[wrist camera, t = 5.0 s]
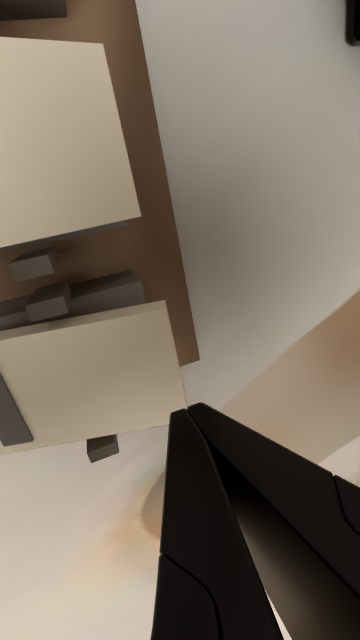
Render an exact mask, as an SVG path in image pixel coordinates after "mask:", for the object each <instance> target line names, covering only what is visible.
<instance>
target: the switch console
mask: <svg viewBox="0 0 360 640" xmlns="http://www.w3.org/2000/svg"><path fill="white" fill-rule="evenodd" d="M0 37H11V38H26V39H41V40H56V41H70V42H85V43H100V44H103V47H104V51H105V56H106V60H107V65H108V69H109V74H110V78H111V83H112V87H113V92H114V96H115V101H116V105H117V110H118V114H119V119H120V123H121V127H122V132H123V136H124V141H125V145H126V150H127V154H128V159H129V163H130V168H131V172H132V177H133V181H134V186H135V190H136V195H137V199H138V204H139V208H140V213H141V217H136V218H132V219H127V220H123V221H118V222H114V223H109V224H105V225H100V226H96V227H91V228H87V229H82V230H78V231H73V232H69V233H64V234H60V235H55V236H51V237H46V238H42V239H37V240H33V241H28V242H24V243H19V244H15V245H10V246H6V247H1V248H0V331H4V330H9V329H14V328H19V327H25V326H30V325H35V324H40V323H46V322H51V321H56V320H61V319H67V318H72V317H77V316H83V315H88V314H93V313H98V312H104V311H109V310H114V309H119V308H125V307H130V306H135V305H141V304H146V303H151V302H156V301H162V300H165V301H166V306H167V311H168V315H169V320H170V325H171V329H172V334H173V339H174V343H175V348H176V353H177V357H178V362H179V366H183V365H186V364H189V363H192V362H195V361H198V360H200V358H199V352H198V347H197V341H196V336H195V330H194V325H193V319H192V313H191V308H190V302H189V297H188V291H187V286H186V280H185V275H184V269H183V264H182V258H181V253H180V247H179V242H178V236H177V230H176V225H175V219H174V214H173V208H172V203H171V197H170V192H169V186H168V181H167V175H166V170H165V164H164V159H163V153H162V147H161V142H160V136H159V131H158V125H157V120H156V114H155V109H154V103H153V98H152V92H151V87H150V81H149V76H148V70H147V64H146V59H145V53H144V48H143V42H142V37H141V31H140V26H139V20H138V15H137V9H136V4H135V0H0ZM117 453H119V448H118V441H117V435H116V434H113V435H108V436H102V437H96V438H91V439H87V454H88V457H89V459H90V461H91V463H93V462H96V461H98V460H101V459H104V458H106V457H109V456H111V455H114V454H117Z"/></svg>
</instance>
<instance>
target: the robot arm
mask: <svg viewBox="0 0 360 640" xmlns="http://www.w3.org/2000/svg"><path fill="white" fill-rule="evenodd" d="M357 29H358V31H359V34H358V31H357ZM347 34H348V40H349V42H350V43H351V44H353V45H359V44H360V0H349V5H348V33H347ZM163 501H164V502H163V513H162V527H161V540H160V556H159V563H158V576H157V587H156V597H155V607H154V616H153V626H152V633H151V639H150V640H284V638H283V636H282V633H281V631H280V628H279V626H278V623H277V620H276V618H275V615H274V613H273V610H272V608H271V605H270V602H269V600H268V597H267V595H266V592H267V594H268V596H269V598H270V600H271V601H272V603H273V605H274V607H275V609H276V611H277V612H278V614H279V616H280V618H281V620H282V622H283V624H284V625H285V627H286V629H287V631H288V633H289V635H290V637H291V638H292V640H360V487H358V486H356V485H354V484H352V483H350V482H348V481H346V480H345V479H343V478H341V477H339V476H337V475H334V476H333V474H332V473H331V472H330V471H328V470H326V469H324V468H322V467H320V466H318V465H317V464H315V463H313V462H311V461H309V460H307V459H305V458H304V457H302V456H300V455H298V454H296V453H295V452H293V451H291V450H289V449H287V448H285V447H283V446H282V445H280V444H278V443H276V442H274V441H272V440H271V439H269V438H267V437H265V436H263V435H261V434H259V433H258V432H256V431H254V430H252V429H250V428H248V427H247V426H244V425H243V424H241V423H239V422H237V421H236V420H233V419H232V418H230V417H228V416H226V415H224V414H223V413H221V412H219V411H217V410H215V409H213V408H212V407H210V406H208V405H206V404H204V403H201V402H200V403H197V404H194V405H191V406H188V407H187V409H185V408H182V409H179V410H176V411H174V412H171V413H170V419H169V432H168V446H167V459H166V473H165V486H164V500H163ZM264 588H265V590H266V592H265V590H264Z"/></svg>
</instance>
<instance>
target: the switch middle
mask: <svg viewBox="0 0 360 640" xmlns="http://www.w3.org/2000/svg"><path fill="white" fill-rule="evenodd" d="M136 217H141V213H140V208H139V204H138V199H137V195H136V190H135V186H134V181H133V177H132V172H131V168H130V163H129V159H128V154H127V150H126V145H125V141H124V136H123V132H122V127H121V123H120V119H119V114H118V110H117V105H116V101H115V96H114V92H113V87H112V83H111V78H110V74H109V69H108V65H107V60H106V56H105V51H104V47H103V44H100V43H85V42H70V41H56V40H41V39H26V38H11V37H0V248H1V247H6V246H10V245H15V244H19V243H24V242H28V241H33V240H37V239H42V238H46V237H51V236H55V235H60V234H64V233H69V232H73V231H78V230H82V229H87V228H91V227H96V226H100V225H105V224H109V223H114V222H118V221H123V220H127V219H132V218H136Z"/></svg>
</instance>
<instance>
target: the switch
mask: <svg viewBox="0 0 360 640" xmlns="http://www.w3.org/2000/svg"><path fill="white" fill-rule="evenodd" d="M187 407H188V404H187V399H186V394H185V390H184V385H183V380H182V376H181V371H180V366H179V362H178V357H177V353H176V348H175V343H174V339H173V334H172V329H171V325H170V320H169V315H168V311H167V306H166V301H165V300H162V301H156V302H151V303H146V304H141V305H135V306H130V307H125V308H119V309H114V310H109V311H104V312H98V313H93V314H88V315H83V316H77V317H72V318H67V319H61V320H56V321H51V322H46V323H40V324H35V325H30V326H25V327H19V328H14V329H9V330H4V331H0V453H1V454H6V453H12V452H18V451H23V450H29V449H34V448H40V447H46V446H51V445H57V444H63V443H68V442H74V441H79V440H85V439H91V438H96V437H102V436H108V435H113V434H119V433H124V432H130V431H136V430H141V429H147V428H153V427H158V426H164V425H169V419H170V413H171V412H174V411H176V410H179V409H182V408H185V409H187Z"/></svg>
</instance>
